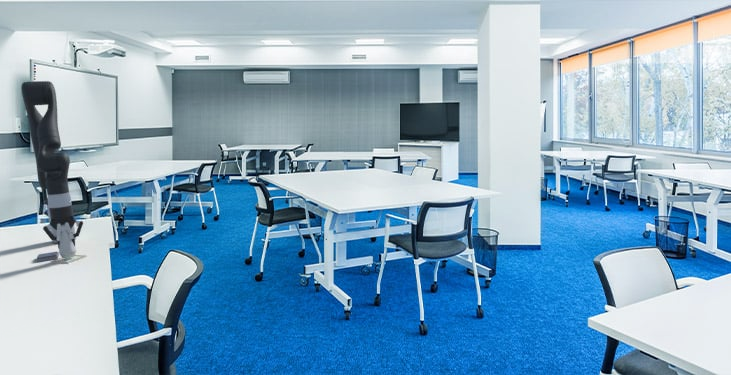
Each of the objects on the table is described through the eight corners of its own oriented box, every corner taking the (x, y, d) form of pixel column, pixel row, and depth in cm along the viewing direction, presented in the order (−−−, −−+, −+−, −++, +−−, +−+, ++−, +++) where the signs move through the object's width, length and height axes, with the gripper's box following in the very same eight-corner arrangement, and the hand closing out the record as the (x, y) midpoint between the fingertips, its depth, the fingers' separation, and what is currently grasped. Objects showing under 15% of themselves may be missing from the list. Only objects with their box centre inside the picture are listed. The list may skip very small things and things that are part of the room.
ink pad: (38, 258, 196) (37, 254, 195) (58, 254, 199) (58, 250, 198) (36, 262, 189) (35, 258, 189) (57, 258, 193) (57, 254, 192)
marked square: (50, 262, 188) (50, 261, 188) (69, 256, 196) (69, 254, 196) (68, 263, 185) (67, 262, 185) (86, 256, 193) (86, 255, 193)
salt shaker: (80, 254, 193) (75, 222, 191) (70, 258, 187) (65, 225, 185) (66, 254, 193) (61, 222, 191) (56, 259, 188) (50, 226, 186)
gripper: (81, 201, 194) (88, 243, 196) (39, 206, 187) (46, 250, 190) (81, 203, 187) (87, 247, 190) (37, 209, 181) (44, 254, 183)
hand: (67, 248), depth 190 cm, fingers closed on salt shaker, 3 cm apart
